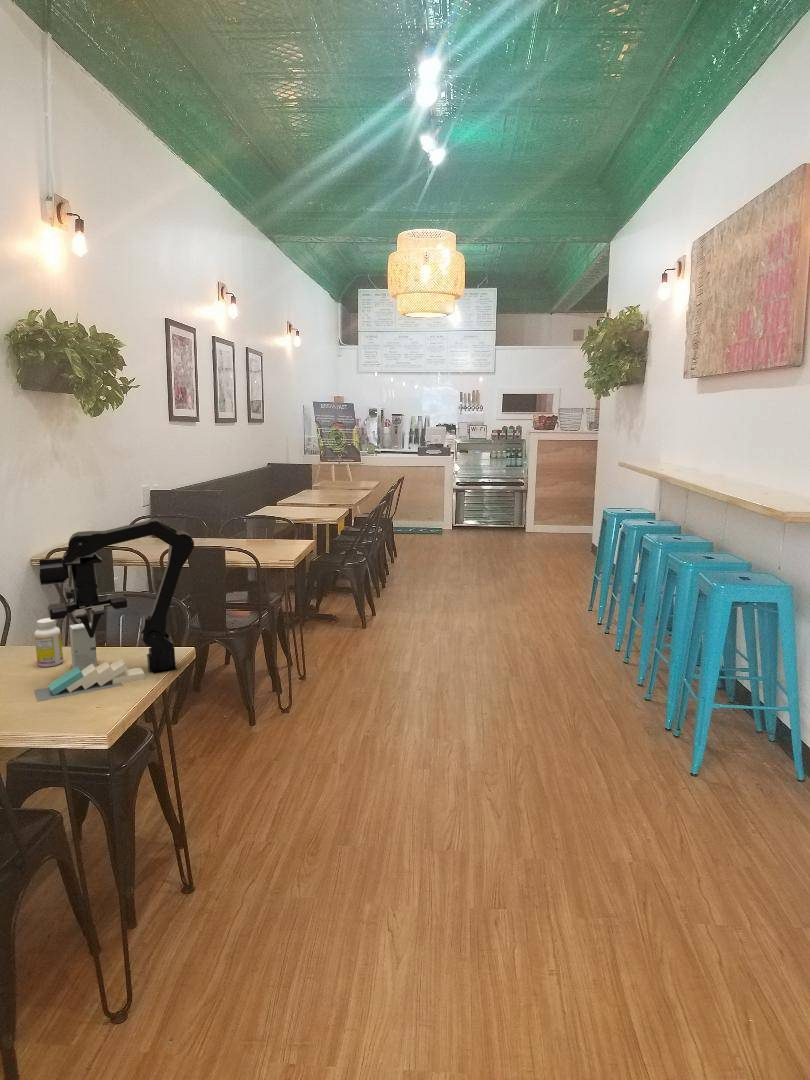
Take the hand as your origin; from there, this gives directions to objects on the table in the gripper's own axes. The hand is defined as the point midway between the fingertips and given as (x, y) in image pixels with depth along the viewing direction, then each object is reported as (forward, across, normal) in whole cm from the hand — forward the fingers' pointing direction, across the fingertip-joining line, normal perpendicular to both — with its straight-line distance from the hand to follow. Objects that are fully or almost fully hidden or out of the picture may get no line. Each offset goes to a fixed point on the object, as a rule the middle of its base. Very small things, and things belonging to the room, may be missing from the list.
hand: (91, 637), depth 191 cm
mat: (+12, +5, +5) cm, 14 cm away
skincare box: (+12, +1, -12) cm, 16 cm away
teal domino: (+10, +12, +5) cm, 16 cm away
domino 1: (+10, +8, +5) cm, 14 cm away
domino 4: (+10, -3, +6) cm, 12 cm away
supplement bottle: (+12, +9, -20) cm, 24 cm away
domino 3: (+10, +1, +6) cm, 12 cm away
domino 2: (+10, +4, +6) cm, 13 cm away
